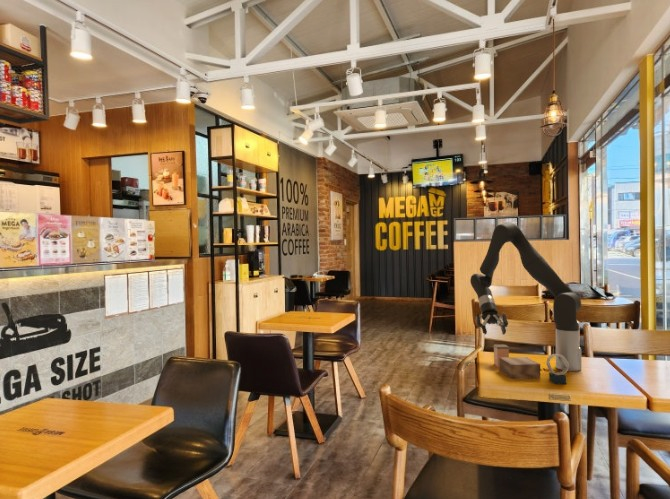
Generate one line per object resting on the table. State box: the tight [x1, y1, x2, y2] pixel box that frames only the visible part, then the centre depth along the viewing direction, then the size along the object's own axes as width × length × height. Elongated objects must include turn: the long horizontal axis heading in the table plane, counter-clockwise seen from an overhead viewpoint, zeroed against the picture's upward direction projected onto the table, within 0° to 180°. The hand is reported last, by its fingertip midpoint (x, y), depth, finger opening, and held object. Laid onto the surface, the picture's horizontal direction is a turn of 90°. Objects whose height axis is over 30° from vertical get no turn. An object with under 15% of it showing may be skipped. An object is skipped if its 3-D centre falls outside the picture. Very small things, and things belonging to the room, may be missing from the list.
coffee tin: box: [493, 344, 510, 368], centre depth 205 cm, size 5×5×9 cm
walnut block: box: [499, 356, 541, 380], centre depth 191 cm, size 12×12×6 cm
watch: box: [546, 353, 569, 385], centre depth 180 cm, size 6×8×11 cm
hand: (494, 333), depth 214 cm, fingers open, 8 cm apart
